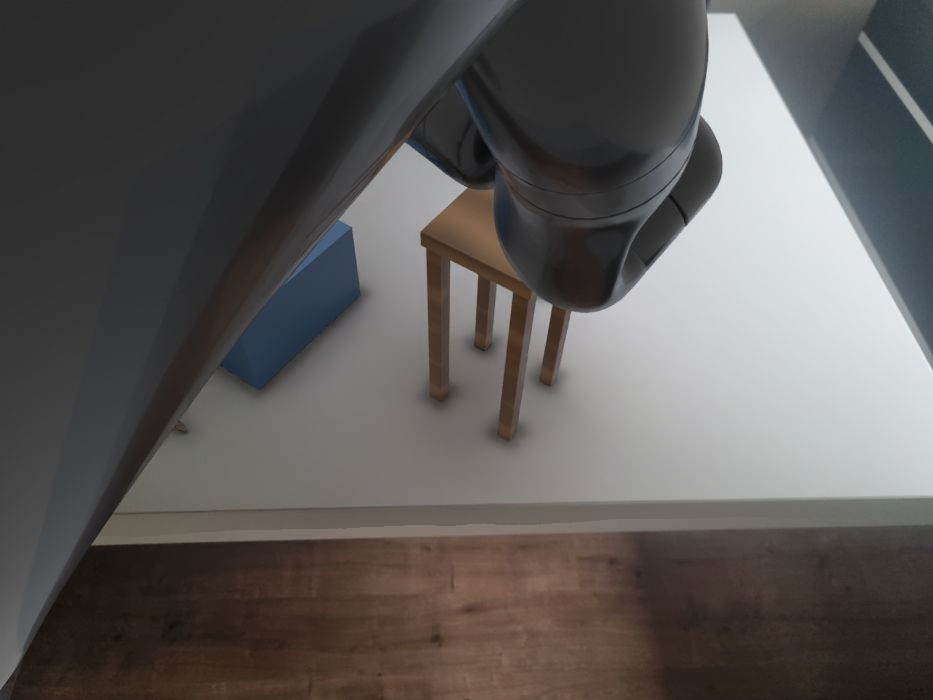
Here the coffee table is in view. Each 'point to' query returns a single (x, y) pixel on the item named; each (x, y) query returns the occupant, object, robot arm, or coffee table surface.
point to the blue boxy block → (299, 309)
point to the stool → (483, 301)
